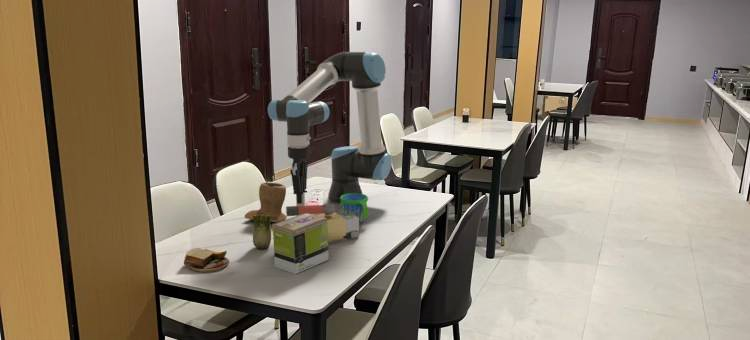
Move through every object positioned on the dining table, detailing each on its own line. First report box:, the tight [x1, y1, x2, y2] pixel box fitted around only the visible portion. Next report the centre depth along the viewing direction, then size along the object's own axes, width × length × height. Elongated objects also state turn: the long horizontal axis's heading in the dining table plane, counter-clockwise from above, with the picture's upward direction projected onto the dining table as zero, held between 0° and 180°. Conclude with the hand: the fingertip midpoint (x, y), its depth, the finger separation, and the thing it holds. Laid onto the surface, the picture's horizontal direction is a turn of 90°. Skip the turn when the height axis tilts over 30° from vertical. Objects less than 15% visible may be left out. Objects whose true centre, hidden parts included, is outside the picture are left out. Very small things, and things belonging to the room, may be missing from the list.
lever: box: [285, 203, 335, 217], centre depth 209 cm, size 17×4×3 cm, turn 102°
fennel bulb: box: [252, 215, 272, 250], centre depth 205 cm, size 6×5×12 cm
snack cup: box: [339, 193, 369, 225], centre depth 233 cm, size 16×10×10 cm
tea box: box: [272, 213, 330, 275], centre depth 191 cm, size 15×10×15 cm, turn 141°
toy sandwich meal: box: [183, 247, 230, 273], centre depth 191 cm, size 12×14×5 cm
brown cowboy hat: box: [243, 181, 288, 223], centre depth 234 cm, size 15×12×15 cm
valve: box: [315, 211, 360, 245], centre depth 212 cm, size 7×22×10 cm, turn 121°
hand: (300, 211), depth 211 cm, fingers closed
